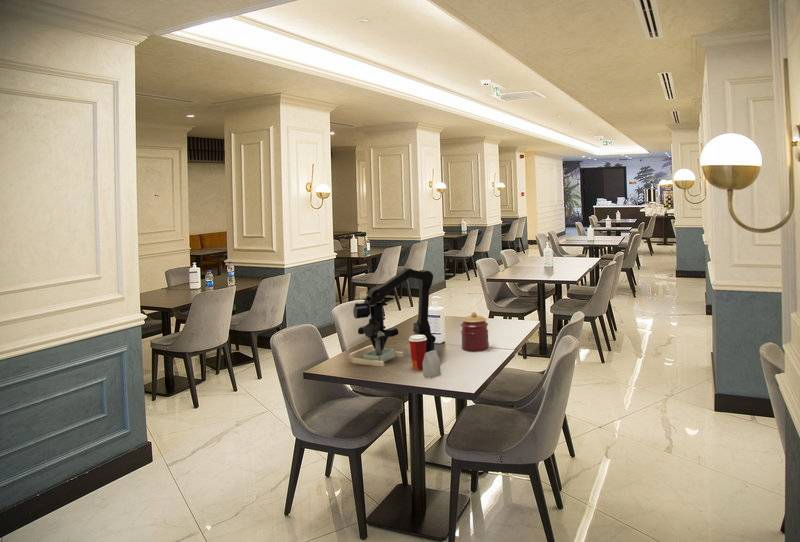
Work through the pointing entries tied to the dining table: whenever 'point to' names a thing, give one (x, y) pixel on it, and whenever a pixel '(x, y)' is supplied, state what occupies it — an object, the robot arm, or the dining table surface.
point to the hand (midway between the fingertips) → (378, 349)
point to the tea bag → (431, 364)
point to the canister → (474, 333)
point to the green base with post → (379, 352)
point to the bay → (358, 355)
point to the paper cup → (418, 350)
